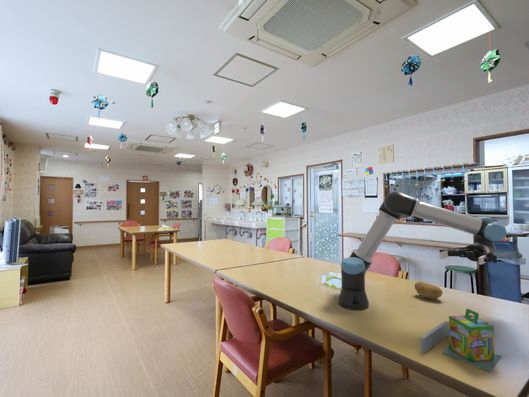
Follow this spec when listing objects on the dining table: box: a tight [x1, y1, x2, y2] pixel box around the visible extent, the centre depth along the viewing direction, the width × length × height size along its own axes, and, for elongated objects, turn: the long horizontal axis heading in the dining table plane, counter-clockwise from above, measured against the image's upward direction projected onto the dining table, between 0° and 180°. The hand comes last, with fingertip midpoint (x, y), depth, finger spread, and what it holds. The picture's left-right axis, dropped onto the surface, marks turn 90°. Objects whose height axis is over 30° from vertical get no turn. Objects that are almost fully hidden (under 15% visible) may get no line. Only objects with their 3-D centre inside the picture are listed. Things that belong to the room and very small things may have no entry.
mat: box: [441, 346, 502, 372], centre depth 92 cm, size 13×13×1 cm
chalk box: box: [448, 308, 495, 362], centre depth 92 cm, size 9×9×15 cm
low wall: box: [420, 320, 449, 354], centre depth 101 cm, size 1×22×5 cm, turn 126°
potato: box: [414, 281, 444, 300], centre depth 147 cm, size 10×14×8 cm
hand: (459, 258), depth 109 cm, fingers open, 13 cm apart
